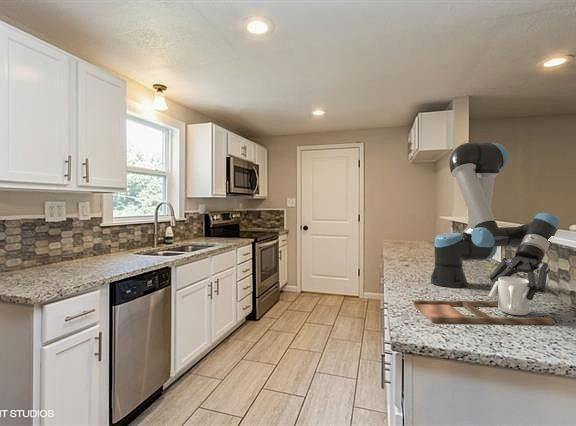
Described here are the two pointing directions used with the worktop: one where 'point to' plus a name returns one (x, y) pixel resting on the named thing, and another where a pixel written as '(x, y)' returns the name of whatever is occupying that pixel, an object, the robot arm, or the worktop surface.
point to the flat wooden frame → (448, 314)
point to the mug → (512, 295)
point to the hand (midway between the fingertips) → (505, 302)
